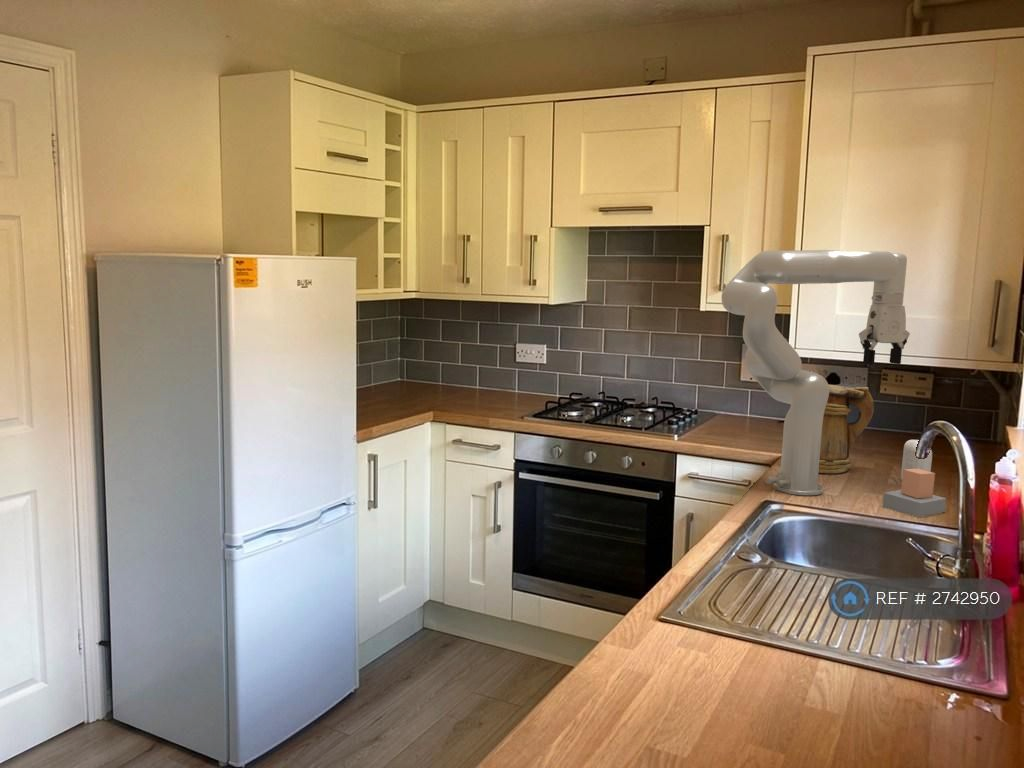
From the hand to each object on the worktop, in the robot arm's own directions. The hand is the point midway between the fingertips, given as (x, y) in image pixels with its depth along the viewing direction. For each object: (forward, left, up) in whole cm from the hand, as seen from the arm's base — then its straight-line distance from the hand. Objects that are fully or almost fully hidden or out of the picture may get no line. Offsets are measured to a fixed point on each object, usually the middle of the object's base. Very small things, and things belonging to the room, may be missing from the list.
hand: (881, 363), depth 227 cm
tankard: (+2, +19, -34) cm, 39 cm away
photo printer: (+12, -4, -34) cm, 36 cm away
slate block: (-9, -22, -34) cm, 41 cm away
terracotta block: (-9, -22, -30) cm, 38 cm away
